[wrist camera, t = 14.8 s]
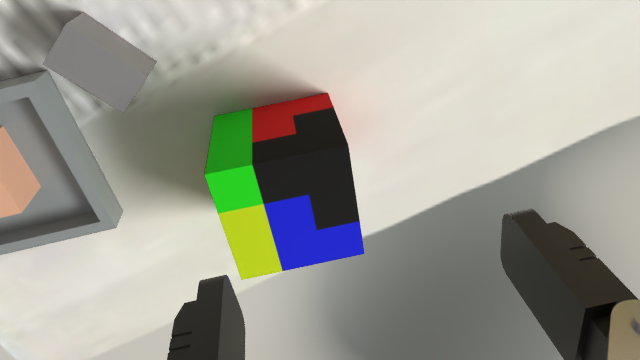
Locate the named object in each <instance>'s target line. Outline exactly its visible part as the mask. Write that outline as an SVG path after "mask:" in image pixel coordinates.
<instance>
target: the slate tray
mask: <svg viewBox="0 0 640 360" xmlns="http://www.w3.org/2000/svg"><path fill="white" fill-rule="evenodd" d="M0 126H3V127H4V128H5V130H6V131H7V133H8V135H9V136H10V138H11V139H12V141H13V142H14V144H15V146H16V147H17V149H18V150H19V152H20V154H21V155H22V157H23V158H24V160H25V162H26V163H27V165H28V166H29V168H30V170H31V171H32V173H33V174H34V176H35V178H36V179H37V181H38V182H39V184H40V185H41V187H40V189H39V190H38V192H37V193H36V194H35V196H34V197H33V198H32V200H31V201H30V202H29V204H28V205H27V206H26V208H25V209H24V211H23V212H22V213H19V214H15V215H11V216H6V217H2V218H0V255H3V254H7V253H11V252H16V251H20V250H24V249H29V248H33V247H37V246H41V245H46V244H50V243H54V242H58V241H63V240H67V239H71V238H75V237H80V236H84V235H88V234H92V233H97V232H101V231H105V230H109V229H114V228H116V227H117V225H118V222H119V220H120V218H121V215H122V213H123V210H122V208H121V206H120V204H119V203H118V201H117V199H116V197H115V195H114V193H113V191H112V189H111V188H110V186H109V184H108V182H107V180H106V178H105V176H104V174H103V173H102V171H101V169H100V167H99V165H98V163H97V161H96V159H95V158H94V156H93V154H92V152H91V150H90V148H89V146H88V144H87V143H86V141H85V139H84V137H83V135H82V133H81V131H80V129H79V128H78V126H77V124H76V122H75V120H74V118H73V116H72V114H71V113H70V111H69V109H68V107H67V105H66V103H65V101H64V99H63V98H62V96H61V94H60V92H59V90H58V88H57V86H56V84H55V83H54V81H53V79H52V77H51V75H50V73H49V71H48V70H46V71H42V72H37V73H33V74H29V75H24V76H20V77H16V78H12V79H7V80H3V81H0Z"/></svg>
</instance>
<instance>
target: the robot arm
mask: <svg viewBox="0 0 640 360" xmlns="http://www.w3.org/2000/svg"><path fill="white" fill-rule="evenodd" d="M501 261H502V265H503V268H504V270H505V272H506V274H507V276H508V277H509V279H510V280H511V282H512V283H513V285H514V286H515V288H516V289H517V291H518V292H519V294H520V295H521V297H522V298H523V299H524V301H525V303H526V304H527V306H528V307H529V308H530V310H531V311H532V313H533V314H534V316H535V317H536V319H537V320H538V322H539V323H540V325H541V326H542V328H543V329H544V330H545V332H546V334H547V335H548V336H549V338H550V339H551V341H552V342H553V344H554V345H555V347H556V348H557V350H558V351H559V353H560V354H561V356H562V357H563V359H564V360H640V300H638V298H637V297H636V296H634V294H633V293H632V292H631V291H630V290H629V289H628V288H627V287H626V286H625V285H624V284H623V283H622V282H621V281H620V280H619V279H618V278H617V277H616V276H615V275H614V274H613V273H612V272H611V271H610V270H609V269H608V267H607V266H606V265H604V263H603V262H602V261H601V260H600V259H599V258H598V259H597V258H596V255H595V254H594V253H593V252H592V251H591V250H590V249H589V248H587V247H586V245H585V244H584V243H583V241H582V240H581V239H579V237H578V236H577V235H576V234H575V233H574V232H572V231H571V230H569V229H567V228H565V227H563V226H561V225H560V224H558V223H556V222H553V223H549V224H547V223H546V222H545V221H544V220H543V219H542V218H541V217H540V216H539V215H538V213H536V211H534V210H533V209H527V210H522V211H517V212H513V213H508V214H505V215H504V216H503V220H502V236H501ZM244 325H245V324H244V318H243V314H242V311H241V308H240V305H239V303H238V301H237V298H236V295H235V293H234V290H233V288H232V285H231V282H230V280H229V278H228V276H227V275H223V276H219V277H214V278H210V279H205V280H201V281H200V282H199V286H198V293H197V300H196V301H191V302H187V303H184V305H183V306H182V308H181V310H180V311H179V313H178V314H177V316H176V318H175V319H174V325H173V330H172V339H171V342H170V347H169V351H170V352H169V353H168V358H167V360H245V326H244Z"/></svg>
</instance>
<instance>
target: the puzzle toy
mask: <svg viewBox="0 0 640 360" xmlns="http://www.w3.org/2000/svg"><path fill="white" fill-rule="evenodd" d="M204 175H205V178H206V181H207V184H208V186H209V189H210V192H211V195H212V198H213V201H214V203H215V206H216V209H217V212H218V215H219V217H220V220H221V223H222V226H223V229H224V231H225V234H226V237H227V240H228V243H229V246H230V248H231V251H232V254H233V257H234V260H235V262H236V265H237V268H238V271H239V274H240V276H241V279H242V280H243V279H248V278H252V277H257V276H262V275H266V274H271V273H276V272H281V271H285V270H290V269H295V268H299V267H304V266H308V265H313V264H318V263H323V262H327V261H332V260H337V259H342V258H346V257H351V256H356V255H361V254H364V248H363V241H362V234H361V228H360V221H359V214H358V208H357V201H356V194H355V188H354V181H353V174H352V168H351V161H350V154H349V147H348V143H347V141H346V138H345V136H344V133H343V130H342V128H341V125H340V123H339V120H338V118H337V115H336V113H335V110H334V107H333V105H332V102H331V100H330V97H329V95H328V93H325V94H320V95H315V96H310V97H305V98H300V99H296V100H291V101H286V102H281V103H276V104H271V105H266V106H261V107H257V108H252V109H247V110H242V111H237V112H232V113H227V114H222V115H218V116H214V122H213V127H212V133H211V139H210V145H209V151H208V156H207V162H206V168H205V174H204Z"/></svg>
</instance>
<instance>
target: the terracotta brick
mask: <svg viewBox="0 0 640 360" xmlns="http://www.w3.org/2000/svg"><path fill="white" fill-rule="evenodd" d="M40 187H41V185H40V184H39V182H38V181H37V179H36V178H35V176H34V174H33V173H32V171H31V170H30V168H29V166H28V165H27V163H26V162H25V160H24V158H23V157H22V155H21V154H20V152H19V150H18V149H17V147H16V146H15V144H14V142H13V141H12V139H11V138H10V136H9V135H8V133H7V131H6V130H5V128H4V127H3V126H0V218H2V217H6V216H11V215H15V214H19V213H22V212H23V211H24V209H25V208H26V206H27V205H28V204H29V202H30V201H31V200H32V198H33V197H34V196H35V194H36V193H37V192H38V190H39V189H40Z"/></svg>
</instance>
